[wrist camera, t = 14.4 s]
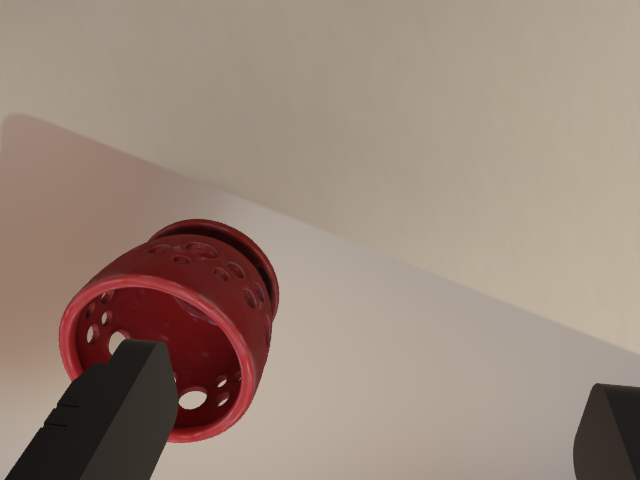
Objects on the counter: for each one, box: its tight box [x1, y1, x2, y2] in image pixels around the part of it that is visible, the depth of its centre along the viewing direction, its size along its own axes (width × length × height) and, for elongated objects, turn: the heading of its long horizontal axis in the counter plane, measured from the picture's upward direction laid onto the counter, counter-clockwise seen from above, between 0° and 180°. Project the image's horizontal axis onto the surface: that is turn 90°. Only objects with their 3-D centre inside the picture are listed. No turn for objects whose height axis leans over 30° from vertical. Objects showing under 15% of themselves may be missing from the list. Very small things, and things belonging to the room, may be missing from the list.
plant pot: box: [59, 219, 279, 443], centre depth 41 cm, size 13×13×12 cm
